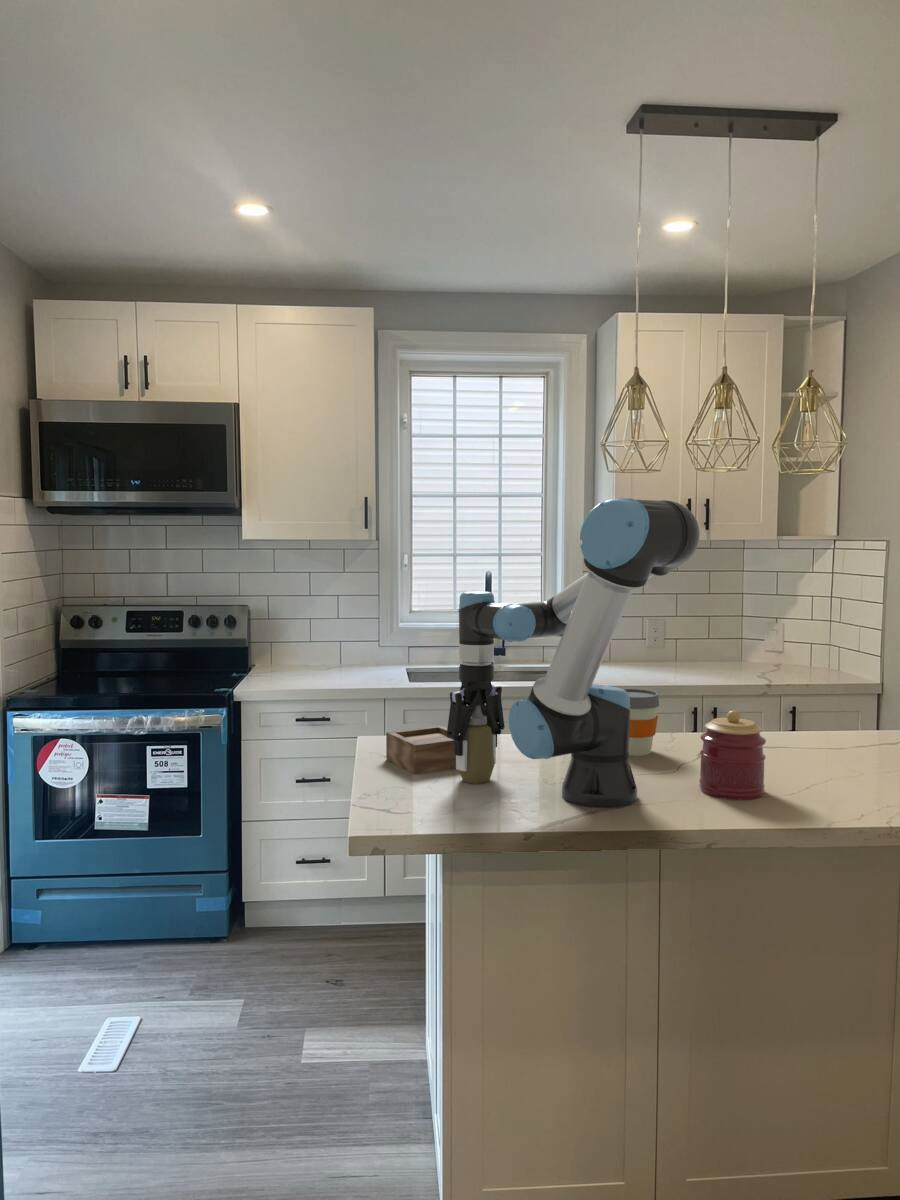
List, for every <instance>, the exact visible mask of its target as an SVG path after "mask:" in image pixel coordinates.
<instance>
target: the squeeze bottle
mask: <svg viewBox="0 0 900 1200" xmlns="http://www.w3.org/2000/svg"><path fill="white" fill-rule="evenodd" d="M486 724H487V716H486V715H482V712H481V707H480V705H479V706H477V707H476V708H475V710H474V711H473V712H472V716H471V719H470V722H469V725H468V729H467V732H466V735H465V739H464V740H466V741H467V771H461V770H458V771H459V773H460V776H461V779H462V781H463V782H464V783H466V784H472V785H473V784H474V785H478V784H486V783H488V782H490V780H491V777H492V774H493V771H494V768H495V765H496V764H495V763H494V753H493V743H492V733H491V728H490V727H489V726H488V725H486Z"/></svg>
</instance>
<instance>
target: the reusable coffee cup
mask: <svg viewBox="0 0 900 1200" xmlns="http://www.w3.org/2000/svg"><path fill="white" fill-rule="evenodd" d="M623 689H624V690H625V691H627V693H628V694H629V697H630V709H631V711H630V736H629V757H630V756H631V757H633V756H634V757H639V756H648V755H651V752H652V746H653V740H654V736H655V735H656V731H657V727H658V726H657V725H658V719H659V716H658V715H657V713H658V708H659V707H660V699H659V693H658V692H656V691H653V690H648V689H641V688H640V689H639V688H623Z"/></svg>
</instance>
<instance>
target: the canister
mask: <svg viewBox="0 0 900 1200" xmlns="http://www.w3.org/2000/svg"><path fill="white" fill-rule="evenodd" d="M704 728H705V729H706V731H705V732H703V733H701V734H700V739H701V740H702V749H701V750H700V751H699V754H700V771H699V772H700V775H699V777H700V778H699V783H698V785H699V789H700V791H701V792H702V793H703V794H705V795H706V796H709V797H713V798H717V799H723V800H728V801H729V800H730V801H751V800H757V799H760V798H763V796H764V794H765V793H764V792H765V786H766V785H765V760H766V755H765V753H764V745H765V744H766V743H767V739H766V738H764V737H763V736H762V735H761V732H762V731H763V729H762V727H761V726H759V725H757V723H755V722H754V721H753V720H749V719H745V718H741V716H740V713H739V711H737V710H735V709H734V710H729V711H728V712H727V714H726V717H716V718H713V719H711V721H708V722H706V723H705V725H704Z"/></svg>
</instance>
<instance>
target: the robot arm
mask: <svg viewBox="0 0 900 1200" xmlns="http://www.w3.org/2000/svg"><path fill="white" fill-rule="evenodd" d="M579 533H580V534H579V540H580V541H581V542H582V543H581V544H579V545H580V550H581V553H582V556H583V561H582V563H583V566H584V568H585V570H586V572H587V573H585V574H584V575H583V576H581V577H579V578H578V579H577V580H575V581H573V582H572V583H570V584H569V585H568V586H567V587H566V586H565V588H563V589H562V590H561V591H559V592H558V593H556V594H555V595H554V596H552V597H551V598H549V599H547V600H544V601H533V602H531V601H530V602H518V603H517V602H515V603H511V602H510V603H505V602H504V603H503V602H502V603H501V602H495V595H494V593H493V592H491V591H478V590H477V591H465V592H464V591H463V592H462V593H461V594H460V595H459V605H458V607H459V608H458V609H457V610H458V611H457V612H458V656H459V657H458V660H459V661H460V662H461V663H460V664H459V665H458V680H459V681H460V683H461V685H460V688H459V690H458V691H451V692H450V693H449V700H450V704H449V706H450V707H449V713H448V720H447V721H448V722H447V727H446V728H447V738H451V739H453V740H454V754H455V755H456V769H455V770H457V771H459V770H461V771H467V741H466V740H464V739H465V735H466V732H467V729H468V725H469V722H470V719H471V716H472V712H473V711H474V710H475V708H476V707H477V706H479V705H480V707H481V712H482V715H486V716H487V724H486V725H488V726H489V727H490V728H491V733H492V743H493V753H494V763H495V765H496V764H497V763H496V762H497V760H496V759H497V758H496V757H497V753H496V751H497V750H496V749H497V747H498V735H501V733H502V731H503V730H504V729H505V727H506V726H505V718H504V711H503V710H504V709H503V703H502V690H503V689H502V686H499V685H493V684H492V681H494V677H495V675H494V673H495V671H494V669H495V666H494V664H493V663H492V662H494V661H495V652H494V651H495V648H494V647H495V640H496V639H497V640H501V641H506V642H508V643H512V642H524V641H527V640H528V639H535V638H548V637H549V638H550V637H560V640H559V643H558V645H557V648H556V649H555V652H554V654H553V657H552V660H551V662H550V664H549V667H548V670H547V672H546V674H545V676H543V677H540V678H538V679H536V681H534V683H533V685H532V688H531V690H530V693H529V696H528V697H527V698H521V699H519V700H517V701H515V702H514V703H513V704H512V705H511V707H510V709H509V712H508V727H509V731H510V736H511V738H512V741H513V744H514V745H515V747H516V748H517V749H518V751H520V753H521V754H522V755H524V757H526V758H528V759H532V760H542V759H544V760H548V759H551V758H556V757H560V756H565V755H566V756H567V755H570V754H571V756H570V761H569V765H568V766H567V770H566V773H565V777H564V780H563V782H562V784H561V785H562V786H561V796H562V798H563V799H564V800H565V801H566V802H569V803H571V804H574V805H577V806H581V807H588V808H595V809H596V808H597V809H614V808H615V809H617V808H623V807H628V806H631V805H633V804H635V803H636V802H637V801H638V787H637V784H636V779H635V777H634V774H633V771H632V767H631V765H630V764H631V763H630V756H629V736H630V711H631V709H630V697H629V694H628V693H627V691H625V690H624V689H625V688H620V687H617V686H616V687H615V686H612V685H611V686H609V685H603V684H597V683H594V681H595V679H596V677H597V674H598V672H599V670H600V667H601V665H602V662H603V660H604V658H605V655H606V654H607V651H608V650H609V649H608V648H609V646H610V644H611V642H612V641H613V640H612V639H613V637H614V635H615V633H616V631H617V628H618V627H619V624H620V621H621V619H622V617H623V614H624V613H625V610H626V608H627V605H628V603H629V600H630V599H631V596H632V594H633V592H634V591H637V590H639V589H642V588H644V587H645V586H646V584H647V581H648V580H649V579H651V578H652V577H654V576H655V577H664V576H665V575H668V574H669V573H671V572H672V571H674V570H676V569H677V568H679V567H680V566H682V565H683V564H685V563H686V562H687V561H689V560H690V558H692V556H693V555H694V553H695V552H696V550H697V548H698V545H699V542H700V537H701V536H700V527H699V523H698V520H697V518H696V517H695V515H694V513H693V512H691V510H690V509H689V508H687V507H686V506H684V505H683V504H681V503H679V502H675V501H672V500H664V499H663V500H652V499H651V500H650V499H649V500H648V499H634V498H628V497H626V498H624V497H623V498H622V497H621V498H617V499H608V500H605V501H602V502H600V503H598V504H597V505H595V506H594V507H593V508H591V510H590V511H589V512H588V514H586V517H585V518H584V520H583V523H582V525H581V528H580V532H579ZM459 733H460V735H459Z"/></svg>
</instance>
